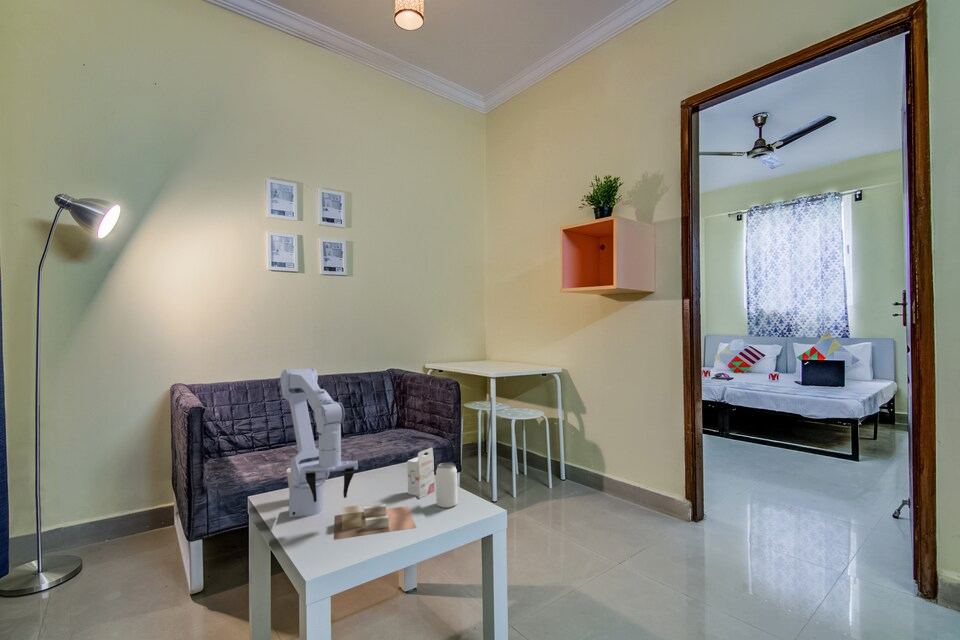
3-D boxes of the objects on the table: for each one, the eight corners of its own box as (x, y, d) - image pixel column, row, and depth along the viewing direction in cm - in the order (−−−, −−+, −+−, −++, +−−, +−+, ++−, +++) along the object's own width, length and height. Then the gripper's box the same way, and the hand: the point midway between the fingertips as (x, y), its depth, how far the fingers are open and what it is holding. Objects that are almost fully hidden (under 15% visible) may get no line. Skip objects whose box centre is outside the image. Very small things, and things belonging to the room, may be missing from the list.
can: (461, 503, 138) (461, 464, 138) (446, 510, 133) (445, 469, 134) (447, 498, 142) (446, 461, 143) (432, 504, 138) (431, 465, 138)
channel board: (333, 543, 113) (333, 529, 113) (334, 519, 128) (334, 506, 128) (416, 531, 119) (416, 518, 119) (408, 509, 134) (407, 497, 134)
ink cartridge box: (422, 488, 153) (422, 445, 153) (434, 490, 150) (434, 446, 151) (407, 496, 145) (406, 451, 146) (419, 499, 143) (418, 452, 143)
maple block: (342, 529, 119) (342, 514, 119) (342, 522, 124) (342, 507, 124) (361, 526, 120) (361, 511, 120) (360, 519, 125) (360, 505, 125)
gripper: (300, 454, 115) (300, 507, 115) (358, 448, 120) (359, 499, 120) (301, 448, 122) (301, 498, 121) (356, 443, 127) (356, 491, 126)
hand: (330, 498), depth 121 cm, fingers open, 7 cm apart
